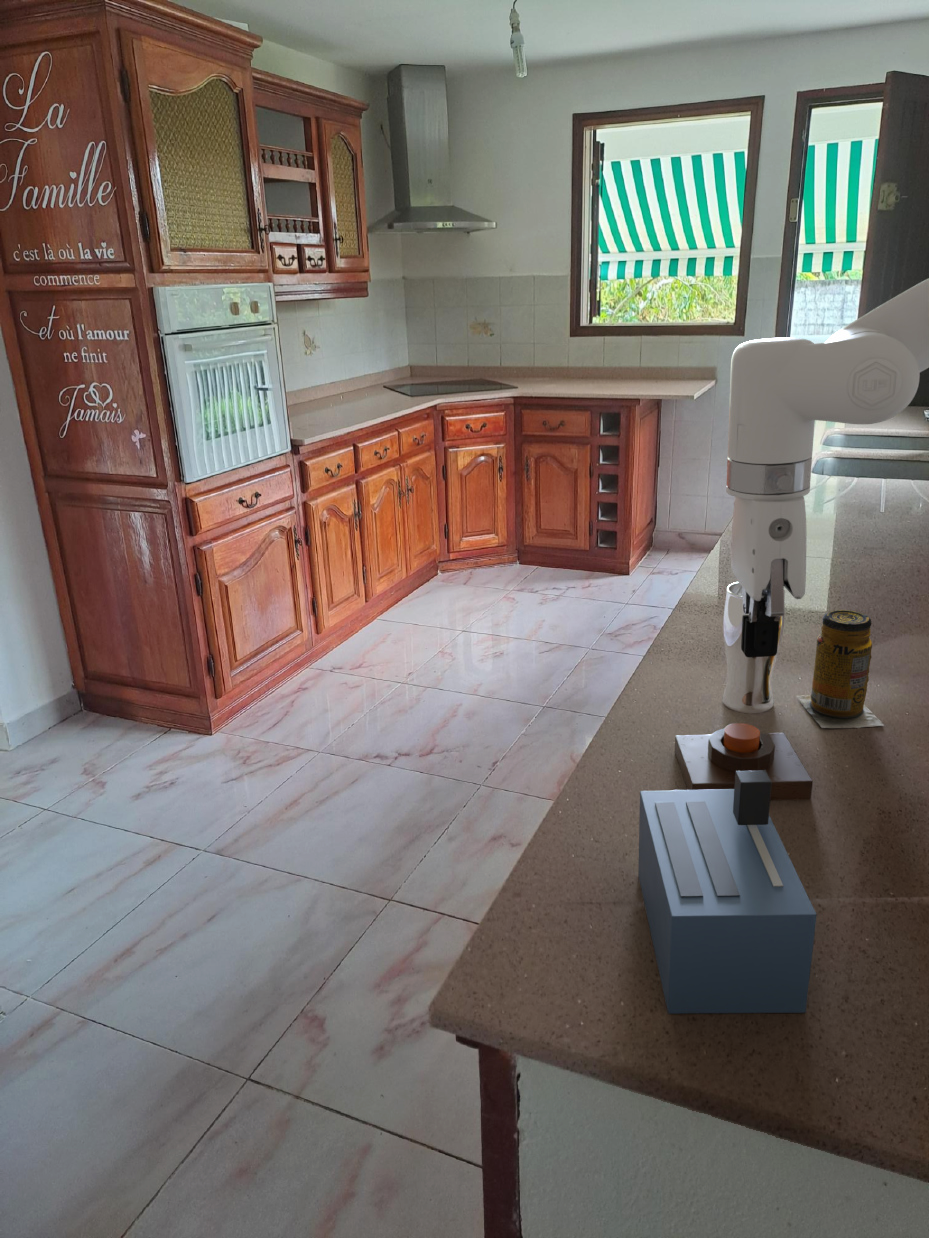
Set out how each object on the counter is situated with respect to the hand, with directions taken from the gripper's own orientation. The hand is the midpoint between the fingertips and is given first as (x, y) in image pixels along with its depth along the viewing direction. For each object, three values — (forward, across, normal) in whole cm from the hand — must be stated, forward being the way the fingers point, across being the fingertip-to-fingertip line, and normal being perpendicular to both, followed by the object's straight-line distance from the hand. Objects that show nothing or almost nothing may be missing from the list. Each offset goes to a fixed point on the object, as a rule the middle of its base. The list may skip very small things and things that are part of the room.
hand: (758, 653), depth 90 cm
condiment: (+14, +13, -14) cm, 24 cm away
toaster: (+14, -25, +10) cm, 30 cm away
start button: (+10, 0, +1) cm, 11 cm away
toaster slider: (+5, -22, +6) cm, 23 cm away
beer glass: (+14, +16, -4) cm, 22 cm away
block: (+14, 0, +2) cm, 14 cm away
